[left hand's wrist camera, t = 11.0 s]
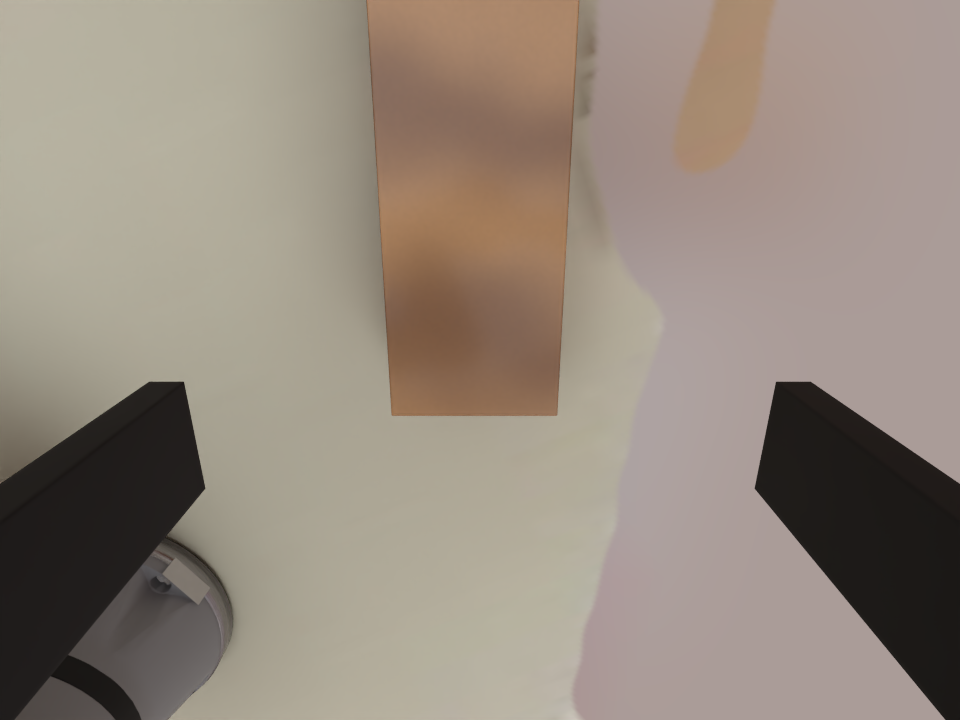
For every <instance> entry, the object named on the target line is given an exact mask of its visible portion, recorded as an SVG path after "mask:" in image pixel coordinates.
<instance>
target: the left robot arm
mask: <svg viewBox="0 0 960 720" xmlns="http://www.w3.org/2000/svg"><path fill="white" fill-rule="evenodd" d="M204 489H205V485H204V480H203V475H202V470H201V465H200V460H199V455H198V450H197V445H196V440H195V435H194V430H193V425H192V420H191V415H190V410H189V405H188V400H187V395H186V390H185V385H184V382H148V383H147V384H145V385H144V386H143V387H141V388H140V389H138V390H137V391H135V392H134V393H132V394H131V395H129V396H128V397H126V398H125V399H124V400H122V401H121V402H119V403H118V404H116V405H115V406H113V407H112V408H110V409H109V410H107V411H106V412H105V413H103V414H102V415H100V416H99V417H97V418H96V419H94V420H93V421H91V422H90V423H88V424H87V425H86V426H84V427H83V428H81V429H80V430H78V431H77V432H75V433H74V434H72V435H71V436H70V437H68V438H67V439H65V440H64V441H62V442H61V443H59V444H58V445H56V446H55V447H53V448H52V449H51V450H49V451H48V452H46V453H45V454H43V455H42V456H40V457H39V458H37V459H36V460H34V461H33V462H32V463H30V464H29V465H27V466H26V467H24V468H23V469H21V470H20V471H18V472H17V473H15V474H14V475H13V476H11V477H10V478H8V479H7V480H5V481H4V482H2V483H1V484H0V720H168V719H169V718H170V717H171V716H172V715H173V714H174V712H175V711H176V710H177V709H178V708H179V707H180V706H181V705H182V704H183V703H184V702H185V701H186V700H187V698H189V697H190V696H191V695H192V694H193V693H194V692H195V691H197V690H198V689H199V688H200V687H201V686H202V685H203V684H204V683H205V682H206V681H207V680H208V679H209V678H210V677H211V676H212V674H213V673H214V671H215V669H216V668H217V666H218V664H219V662H220V660H221V658H222V656H223V654H224V652H225V650H226V648H227V646H228V644H229V641H230V638H231V634H232V627H233V618H232V611H231V607H230V603H229V600H228V598H227V595H226V593H225V591H224V589H223V587H222V585H221V584H220V582H219V581H218V579H217V578H216V577H215V575H214V574H213V573H212V572H211V571H210V570H209V568H208V567H207V566H206V565H205V564H204V563H203V562H201V561H200V560H199V559H198V558H197V557H196V556H194V555H193V554H192V553H190V552H189V551H188V550H186V549H185V548H183V547H181V546H180V545H178V544H176V543H174V542H173V541H171V540H169V539H166V538H165V537H166V536H167V534H168V533H169V532H170V531H171V529H172V528H173V527H174V526H175V525H176V523H177V522H178V521H179V520H180V519H181V517H182V516H183V515H184V514H185V512H186V511H187V510H188V509H189V508H190V506H191V505H192V504H193V503H194V502H195V500H196V499H197V498H198V497H199V496H200V494H201V493H202V492H203V491H204ZM755 489H756V491H757V492H758V493H759V494H760V496H761V497H762V498H763V499H764V500H765V502H766V503H767V504H768V505H769V506H770V508H771V509H772V510H773V511H774V512H775V514H776V515H777V516H778V517H779V519H780V520H781V521H782V522H783V523H784V525H785V526H786V527H787V528H788V529H789V531H790V532H791V533H792V534H793V536H794V537H795V538H796V539H797V540H798V542H799V543H800V544H801V545H802V546H803V548H804V549H805V550H806V551H807V552H808V554H809V555H810V556H811V557H812V559H813V560H814V561H815V562H816V563H817V565H818V566H819V567H820V568H821V569H822V571H823V572H824V573H825V574H826V575H827V577H828V578H829V579H830V580H831V582H832V583H833V584H834V585H835V586H836V588H837V589H838V590H839V591H840V592H841V594H842V595H843V596H844V597H845V599H846V600H847V601H848V602H849V603H850V605H851V606H852V607H853V608H854V609H855V611H856V612H857V613H858V614H859V615H860V617H861V618H862V619H863V620H864V622H865V623H866V624H867V625H868V626H869V628H870V629H871V630H872V631H873V633H874V634H875V635H876V636H877V637H878V638H879V640H880V641H881V642H882V643H883V645H884V646H885V647H886V648H887V650H888V651H889V652H890V653H891V654H892V656H893V657H894V658H895V659H896V660H897V662H898V663H899V664H900V665H901V666H902V668H903V669H904V670H905V671H906V673H907V674H908V675H909V676H910V677H911V679H912V680H913V681H914V682H915V683H916V685H917V686H918V687H919V688H920V689H921V691H922V692H923V693H924V694H925V696H926V697H927V698H928V699H929V700H930V702H931V703H932V704H933V705H934V706H935V708H936V709H937V710H938V711H939V712H940V714H941V715H942V716H943V717H944V719H945V720H960V484H959V483H958V482H956V481H955V480H953V479H952V478H950V477H949V476H947V475H946V474H945V473H943V472H942V471H940V470H939V469H937V468H936V467H934V466H933V465H931V464H930V463H928V462H927V461H926V460H924V459H923V458H921V457H920V456H918V455H917V454H915V453H914V452H912V451H911V450H909V449H908V448H906V447H905V446H904V445H902V444H901V443H899V442H898V441H896V440H895V439H893V438H892V437H890V436H889V435H888V434H886V433H885V432H883V431H882V430H880V429H879V428H877V427H876V426H874V425H873V424H871V423H870V422H869V421H867V420H866V419H864V418H863V417H861V416H860V415H858V414H857V413H855V412H854V411H853V410H851V409H850V408H848V407H847V406H845V405H844V404H842V403H841V402H839V401H838V400H836V399H835V398H834V397H832V396H831V395H829V394H828V393H826V392H825V391H823V390H822V389H820V388H819V387H817V386H816V385H815V384H813V383H812V382H776V385H775V390H774V395H773V400H772V405H771V410H770V415H769V420H768V425H767V430H766V435H765V440H764V445H763V450H762V455H761V460H760V465H759V470H758V475H757V480H756V485H755Z"/></svg>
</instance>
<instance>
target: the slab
mask: <svg viewBox="0 0 960 720" xmlns="http://www.w3.org/2000/svg"><path fill="white" fill-rule="evenodd" d="M578 14H579V0H367V17H368V33H369V49H370V66H371V82H372V99H373V115H374V132H375V148H376V165H377V181H378V198H379V214H380V231H381V247H382V264H383V280H384V296H385V313H386V329H387V346H388V362H389V379H390V395H391V412H392V416H556V415H557V408H558V390H559V371H560V352H561V333H562V314H563V296H564V277H565V258H566V239H567V220H568V202H569V183H570V164H571V145H572V126H573V108H574V89H575V70H576V51H577V32H578Z"/></svg>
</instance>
